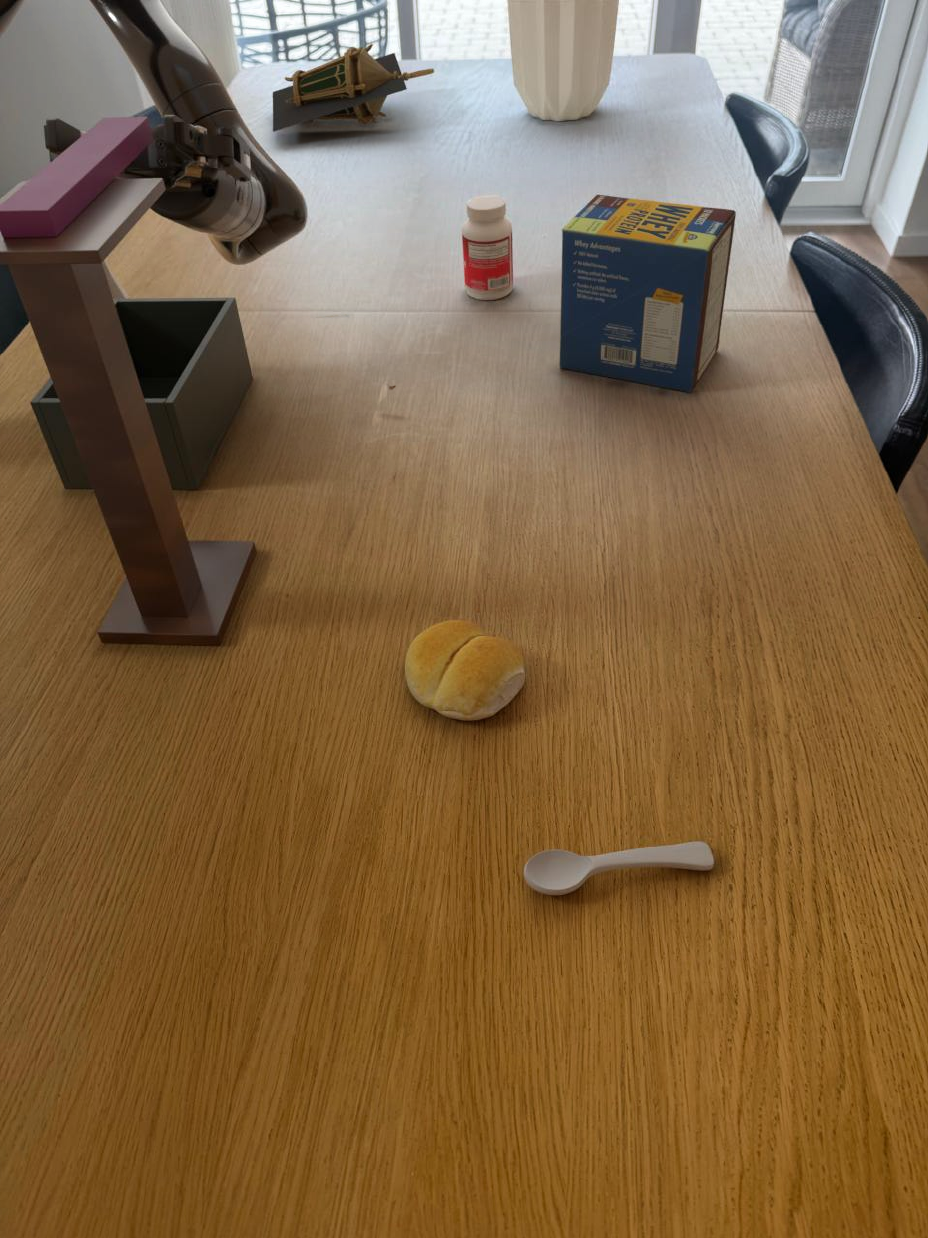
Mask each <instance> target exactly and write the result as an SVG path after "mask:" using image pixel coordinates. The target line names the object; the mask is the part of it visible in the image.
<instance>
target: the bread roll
mask: <svg viewBox="0 0 928 1238" xmlns="http://www.w3.org/2000/svg"><path fill="white" fill-rule="evenodd" d="M404 659H405V661H404V676H405V681H406V685H407V687H408V689H409V692H410V693H411V695H412V697H413V698H414V699H415V700H416V701H417V702H418V703H419V704H420V705H422V706H423V707H425V708H428V709H431V710H434V711H435V712H437V713H439V714H440V715H442V716H443V717H447V718H448V719H455V720H458V721H469V722H470V721H480V720H483V719H486V718H490V717H492V716H494V715H495V714H496V713H498V712H500V710H502V709H503V708H505V707H506V706H507V705H509V703H510V702H511V701H512V700H513V699H515V697H516V695H517V694H518V693H519V692H520V691H521V689H522V688H523V686H524V683H525V680H526V676H527V675H526V672H525V659H524V656H523V655H522V653H521V651H520V650H519V648H518V647H516V645H515V644H514V643H513V642H511V641H510V640H508V639H505V638H501V637H497V636H491V635H487V633H486V632H485V631H484V630H483V629H482V628H481V627H480V626H479V625H477V624H476V623H473V622H470V621H467V620H461V619H450V620H445V621H440V622H438V623H436V624H433V625H431V626H429V627H428V628H426V629H424V630H422V632H420V633H419V634H418V635H416V637H415V638H414V639H413V640H412V641H411V643H410V644H409V647H408V650H407V652H406V655H405V658H404Z"/></svg>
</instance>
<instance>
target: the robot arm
mask: <svg viewBox="0 0 928 1238" xmlns="http://www.w3.org/2000/svg"><path fill="white" fill-rule="evenodd" d="M25 1H26V0H0V39H1V38H2V36H3V35H4V34H5V32H6V31H7V29H8V28H9V26H10V24H11V23H12V21H13V20H14V18H15V17H16V16H17V14H18V12H19V11H20V9H21V7H22V5H23V4H24V3H25ZM89 2H90V3H91V4H92V6H93V7H94V9H95V10H96V12H97V13H98V14H99V16H100V17H101V18H102V20H103V22H104V23H105V25H106V26H107V27H108V29H109V30H110V32H111V33H112V36H114V38H115V39H116V41H117V42H118V44H119V45H120V47H121V48H122V50H123V52H124V53H125V55H126V56H127V58H128V60H129V62H130V63H131V65H132V67H133V68H134V70H135V71H136V73H137V74H138V76H139V78H140V80H141V82H142V84H143V85H144V87H145V89H146V90H147V92H148V94H149V96H150V98H151V99H152V101H153V103H154V105H155V107H156V109H157V111H158V113H159V115H160V117H161V118H162V120H163V122H162V123H159V124H158V125H155V126H153V127H151V131H152V135H153V139H154V140H153V141H152V142H151V143H150V144H149V145H148V146H147V147H146V148H145V149H144V150H143V151H142V152H141V153H140V154H139V155H138V156H137V157H136V158H135V159H134V160H133V161H132V162H131V163H130V164H129V165H128V166H127V167H126V168H125V169H124V170H123V171H122V172H121V173H120V174H119V175H118V176H117V177H116V178H115V179H143V178H163V181H164V185H165V189H166V190H165V191H164V192H163V193H162V195H161V196H160V197H159V198H158V199H157V200H156V202H155V203H154V204H153V205H152V206H151V207H150V208H149V210H152V212H154V213H155V214H157V215H159V216H160V217H162V218H164V219H167V220H169V221H171V222H173V223H176V224H178V225H180V226H183V227H184V228H187V229H190V230H191V231H195V232H198V233H202V234H203V233H204V234H207V237H208V239H209V241H210V243H211V244H212V246H213V247H214V249H215V251H216V252H217V253H218V254H219V256H221V258H223V259H224V260H225V261H226V262H228V263H230V264H231V265H234V266H243V265H248V264H251V263H253V262H255V261H257V260H259V259H260V258H262V257H263V256H265V255H266V254H268V253H269V252H271V251H273V250H275V249H276V248H278V247H280V246H281V245H283V244H285V243H287V242H288V241H290V240H291V239H293V238H295V237H296V236H298V235H299V234H301V233H302V232H303V231H305V229H306V226H307V223H308V218H309V209H308V204H307V201H306V198H305V196H304V194H303V193H302V190H301V189H300V188H299V187H298V186H297V184H296V183H295V181H293V180H292V178H291V177H290V176H289V175H288V174H287V173H286V172H285V171H284V169H282V168H281V167H280V166H279V165H278V164H277V163H276V162H275V160H273V159H272V157H270V155H269V154H268V153H267V151H265V149H264V148H263V147H262V146H261V144H260V143H259V142H258V141H257V139H256V138H255V137H254V135H253V134H252V132H251V131H250V129H249V127H248V126H247V125H246V123H245V121H244V120H243V118H242V116H241V114H240V112H239V110H238V108H237V107H236V105H235V102H234V101H233V99H232V97H231V96H230V93H229V91H228V90H227V88H226V85H225V84H224V82H223V81H222V79H221V76H220V75H219V73H218V71H217V70H216V68H215V67H214V65H213V64H212V62H211V60H210V59H209V58H208V56H207V55H206V54H205V53H204V51H203V50H202V48H200V47H199V45H198V44H197V43H196V42H195V41H194V39H192V37H191V36H190V35H189V34H188V33H187V32H186V31H185V30H184V29H183V28H182V27H181V26H180V25H179V23H178V22H177V21H176V20H175V18H174V17H173V16H172V14H171V13H170V12H169V11H168V9H167V8H166V6H165V4H164V3H163V1H162V0H89ZM43 132H44V142H45V143H44V146H45V149H46V150H48V154H49V155H48V156H49V162H50V163H51V162H52V161H53V160H54V159H55V158H57V157H58V156H59V155H60V154H61V153H63V152H64V151H65V150H66V149H67V148H68V147H70V146H71V145H72V144H73V143H74V142H76V141H77V140H78V139H79V138H80V137H81V136H83V135H84V134H85V133H86V132H87V131H83V130H80V129H78V128H77V127H75V126H74V125H71V124H70V123H67V122H66V121H64V120H62V119H60V118H58V117H57V118H54V117H52V118H51V117H50V118H46V121H45V124H44V125H43ZM50 163H49V164H50Z"/></svg>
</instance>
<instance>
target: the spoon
mask: <svg viewBox="0 0 928 1238" xmlns="http://www.w3.org/2000/svg"><path fill="white" fill-rule="evenodd" d="M714 865H715V858H714V855H713V852H712V849H711V848H710V845H708V844H707V843H706V842H705V841H689V842H683V843H677V844H669V845H658V846H647V847H636V848H631V849H624V850H620V851H613V852H608V853H602V854H597V855H581V854H577V853H574V852H572V851H570V850H566V849H559V848H558V849H557V848H556V849H547V850H542V851H540V852H537V853H536V854H534V855H533V856H531V857H530V858H529V859H528V860H527V861H526V863H525V865H524V867H523V872H522V873H523V878H524V880H525V883H526V884H527V885H528V886H529V888H531V889H532V890H534V891H535V892H537V893H540V894H543V895H548V896H563V895H567V894H569V893H572V892H574V891H576V890H577V889H579V888H580V887H581V886H582V885H583V884H584V883H585V882H586V881H587V880H588V879H590V878H591V877H592V876H595V875H597V874H601V873H605V872H611V871H616V870H624V869H626V870H627V869H636V868H671V869H672V868H673V869H684V870H693V871H702V872H703V871H711V870H712V869H713V868H714Z"/></svg>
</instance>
